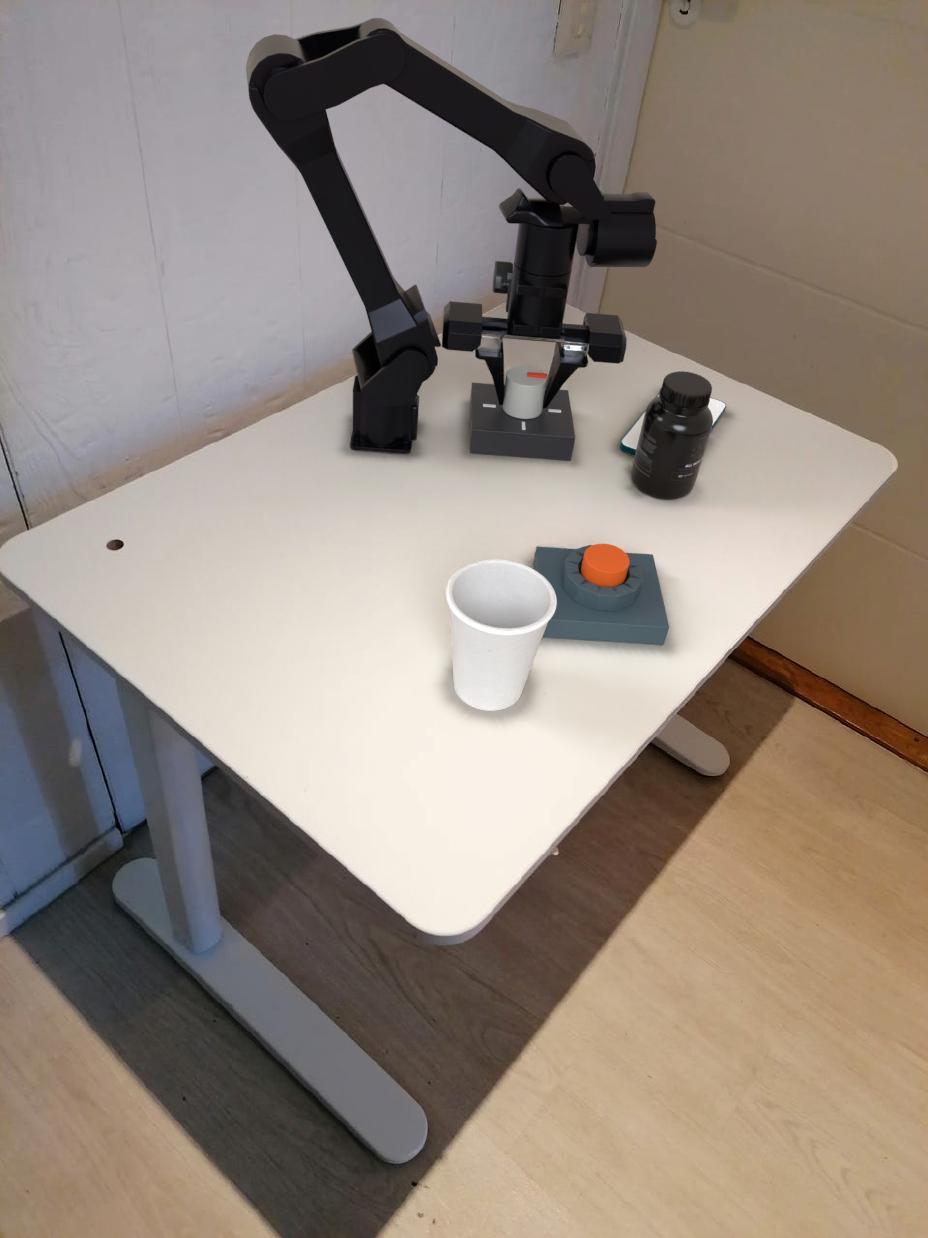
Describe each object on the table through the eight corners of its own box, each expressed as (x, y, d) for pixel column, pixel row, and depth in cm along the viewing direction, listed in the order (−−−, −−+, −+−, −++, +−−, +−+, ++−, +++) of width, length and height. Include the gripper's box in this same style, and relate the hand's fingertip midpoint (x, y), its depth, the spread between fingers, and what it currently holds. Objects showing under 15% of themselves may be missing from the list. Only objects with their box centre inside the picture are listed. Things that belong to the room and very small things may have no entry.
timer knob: (502, 417, 104) (507, 381, 102) (501, 396, 108) (506, 361, 105) (543, 420, 105) (548, 384, 102) (540, 399, 108) (546, 364, 105)
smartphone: (683, 474, 105) (727, 410, 116) (685, 467, 104) (729, 403, 115) (615, 450, 107) (664, 389, 118) (617, 443, 107) (666, 382, 117)
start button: (582, 586, 84) (586, 570, 83) (578, 557, 87) (582, 541, 86) (628, 589, 84) (632, 573, 83) (622, 560, 87) (626, 544, 86)
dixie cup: (559, 700, 79) (579, 609, 72) (473, 738, 75) (486, 646, 68) (501, 636, 84) (515, 546, 77) (418, 669, 80) (425, 577, 73)
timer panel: (469, 453, 104) (472, 428, 102) (469, 405, 112) (472, 380, 109) (570, 461, 105) (575, 436, 103) (564, 412, 112) (568, 388, 110)
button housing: (538, 637, 84) (545, 603, 81) (533, 564, 91) (539, 530, 89) (663, 645, 85) (674, 612, 82) (648, 572, 92) (657, 538, 89)
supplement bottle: (692, 507, 100) (722, 407, 92) (627, 495, 101) (650, 395, 93) (695, 469, 105) (723, 371, 97) (632, 458, 106) (654, 360, 97)
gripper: (626, 240, 102) (600, 375, 112) (449, 225, 101) (439, 362, 111) (640, 286, 94) (610, 426, 104) (447, 269, 93) (436, 412, 103)
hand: (522, 404), depth 106 cm, fingers closed on timer knob, 4 cm apart
